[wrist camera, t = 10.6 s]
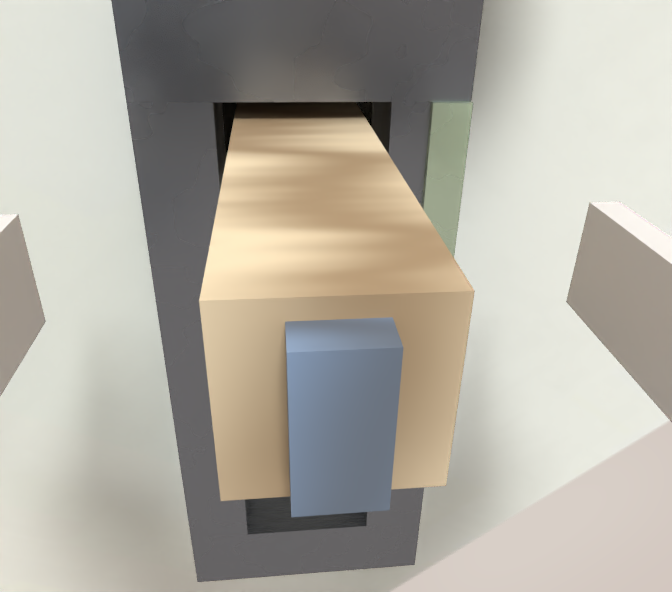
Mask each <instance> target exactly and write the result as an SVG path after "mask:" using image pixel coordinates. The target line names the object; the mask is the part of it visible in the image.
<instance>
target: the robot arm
mask: <svg viewBox="0 0 672 592" xmlns="http://www.w3.org/2000/svg"><path fill="white" fill-rule="evenodd" d="M566 302H567V303H568V304H569V305H570V307H571V308H572V309H573V310H574V311H575V312H576V313H577V315H578V316H579V317H580V318H581V319H582V320H583V321H584V323H585V324H586V325H587V326H588V327H589V328H590V329H591V331H592V332H593V333H594V334H595V335H596V336H597V337H598V339H599V340H600V341H601V342H602V343H603V344H604V345H605V347H606V348H607V349H608V350H609V351H610V352H611V353H612V355H613V356H614V357H615V358H616V359H617V360H618V361H619V363H620V364H621V365H622V366H623V367H624V368H625V369H626V371H627V372H628V373H629V374H630V375H631V376H632V377H633V379H634V380H635V381H636V382H637V383H638V384H639V385H640V387H641V388H642V389H643V390H644V391H645V392H646V393H647V395H648V396H649V397H650V398H651V399H652V400H653V401H654V403H655V404H656V405H657V406H658V407H659V408H660V409H661V411H662V412H663V413H664V414H665V415H666V416H667V417H668V419H669V420H670V421H671V422H672V237H671V236H669V235H668V234H666V233H665V232H663V231H662V230H661V229H659V228H658V227H656V226H655V225H653V224H652V223H650V222H649V221H647V220H646V219H645V218H643V217H642V216H640V215H639V214H637V213H636V212H634V211H633V210H631V209H630V208H629V207H627V206H626V205H624V204H623V203H621V202H590V203H589V207H588V212H587V216H586V220H585V225H584V229H583V233H582V237H581V242H580V246H579V250H578V254H577V259H576V263H575V267H574V272H573V276H572V280H571V284H570V289H569V293H568V297H567V301H566ZM45 322H46V321H45V317H44V313H43V309H42V305H41V301H40V298H39V294H38V290H37V286H36V282H35V278H34V274H33V270H32V266H31V262H30V258H29V255H28V251H27V247H26V243H25V239H24V235H23V231H22V227H21V223H20V219H19V215H18V214H5V215H0V396H1V395H2V393H3V391H4V390H5V388H6V386H7V385H8V383H9V381H10V380H11V378H12V376H13V375H14V373H15V371H16V370H17V368H18V366H19V365H20V363H21V361H22V360H23V358H24V356H25V355H26V353H27V352H28V350H29V348H30V347H31V345H32V343H33V342H34V340H35V338H36V337H37V335H38V333H39V332H40V330H41V328H42V327H43V325H44V323H45Z"/></svg>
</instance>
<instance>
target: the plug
mask: <svg viewBox="0 0 672 592" xmlns="http://www.w3.org/2000/svg"><path fill="white" fill-rule="evenodd" d="M473 298H474V289H473V288H472V286H471V285H470V283H469V281H468V280H467V278H466V277H465V275H464V273H463V272H462V270H461V269H460V267H459V266H458V264H457V262H456V261H455V259H454V258H453V256H452V254H451V253H450V251H449V250H448V248H447V246H446V245H445V243H444V242H443V240H442V238H441V237H440V235H439V234H438V232H437V231H436V229H435V227H434V226H433V224H432V223H431V221H430V219H429V218H428V216H427V215H426V213H425V211H424V210H423V208H422V207H421V205H420V204H419V202H418V200H417V199H416V197H415V196H414V194H413V192H412V191H411V189H410V188H409V186H408V184H407V183H406V181H405V180H404V178H403V177H402V175H401V173H400V172H399V170H398V169H397V167H396V165H395V164H394V162H393V161H392V159H391V157H390V156H389V154H388V153H387V151H386V150H385V148H384V146H383V145H382V143H381V142H380V140H379V138H378V137H377V135H376V134H375V132H374V130H373V129H372V127H371V126H370V124H369V123H368V121H367V119H366V118H365V116H364V115H363V113H362V111H361V110H360V108H359V107H358V105H357V103H356V102H237V105H236V110H235V116H234V121H233V126H232V131H231V137H230V142H229V147H228V152H227V157H226V163H225V168H224V173H223V178H222V184H221V189H220V194H219V199H218V205H217V210H216V215H215V220H214V225H213V231H212V236H211V241H210V246H209V252H208V257H207V262H206V267H205V272H204V278H203V283H202V288H201V293H200V299H199V305H200V314H201V323H202V332H203V342H204V351H205V360H206V369H207V379H208V388H209V397H210V406H211V415H212V425H213V434H214V443H215V452H216V462H217V471H218V480H219V489H220V499H221V501H229V500H244V499H259V498H273V497H288V496H290V499H291V517H302V516H316V515H330V514H344V513H358V512H372V511H386V510H390V499H391V489H406V488H421V487H435V486H446V482H447V475H448V468H449V461H450V454H451V448H452V441H453V434H454V427H455V420H456V414H457V407H458V400H459V393H460V386H461V380H462V373H463V366H464V359H465V352H466V346H467V339H468V332H469V325H470V318H471V312H472V305H473Z"/></svg>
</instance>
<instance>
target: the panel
mask: <svg viewBox="0 0 672 592" xmlns="http://www.w3.org/2000/svg"><path fill="white" fill-rule="evenodd" d="M111 1H112V7H113V14H114V21H115V28H116V34H117V41H118V48H119V55H120V61H121V68H122V75H123V82H124V88H125V95H126V102H127V109H128V115H129V122H130V129H131V136H132V142H133V149H134V156H135V162H136V169H137V176H138V183H139V189H140V196H141V203H142V210H143V216H144V223H145V230H146V237H147V243H148V250H149V257H150V264H151V270H152V277H153V284H154V291H155V297H156V304H157V311H158V318H159V324H160V331H161V338H162V345H163V351H164V358H165V365H166V372H167V378H168V385H169V392H170V398H171V405H172V412H173V419H174V425H175V432H176V439H177V446H178V452H179V459H180V466H181V473H182V479H183V486H184V493H185V500H186V506H187V513H188V520H189V527H190V533H191V540H192V547H193V554H194V560H195V567H196V574H197V581H198V582H204V581H216V580H229V579H242V578H254V577H267V576H279V575H292V574H304V573H317V572H329V571H342V570H354V569H367V568H380V567H392V566H405V565H414V564H415V556H416V548H417V540H418V531H419V523H420V515H421V507H422V499H423V491H424V487H421V488H406V489H391V499H390V510H386V511H372V512H358V513H344V514H330V515H316V516H302V517H291V499H290V496H288V497H273V498H259V499H244V500H229V501H221V499H220V489H219V480H218V471H217V462H216V452H215V443H214V434H213V425H212V415H211V406H210V397H209V388H208V379H207V369H206V360H205V351H204V342H203V332H202V323H201V314H200V305H199V299H200V293H201V288H202V283H203V278H204V272H205V267H206V262H207V257H208V252H209V246H210V241H211V236H212V231H213V225H214V220H215V215H216V210H217V205H218V199H219V194H220V189H221V184H222V178H223V173H224V168H225V163H226V146H225V133H224V119H223V105H222V102H372V123H371V127H372V129H373V130H374V132H375V134H376V135H377V137H378V138H379V140H380V142H381V143H382V145H383V146H384V148H385V150H386V151H387V153H388V154H389V156H390V157H391V159H392V161H393V162H394V164H395V165H396V167H397V169H398V170H399V172H400V173H401V175H402V177H403V178H404V180H405V181H406V183H407V184H408V186H409V188H410V189H411V191H412V192H413V194H414V196H415V197H416V199H417V200H418V202H419V204H420V205H421V207H422V208H423V210H424V211H425V213H426V215H427V216H428V218H429V219H430V221H431V223H432V224H433V226H434V227H435V229H436V231H437V232H438V234H439V235H440V237H441V238H442V240H443V242H444V243H445V245H446V246H447V248H448V250H449V251H450V253H451V254H452V256H453V258H454V253H455V245H456V237H457V229H458V221H459V213H460V205H461V197H462V189H463V180H464V172H465V164H466V156H467V148H468V140H469V132H470V124H471V116H472V108H473V102H471V98H472V90H473V82H474V74H475V66H476V58H477V49H478V41H479V33H480V25H481V17H482V9H483V0H111Z"/></svg>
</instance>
